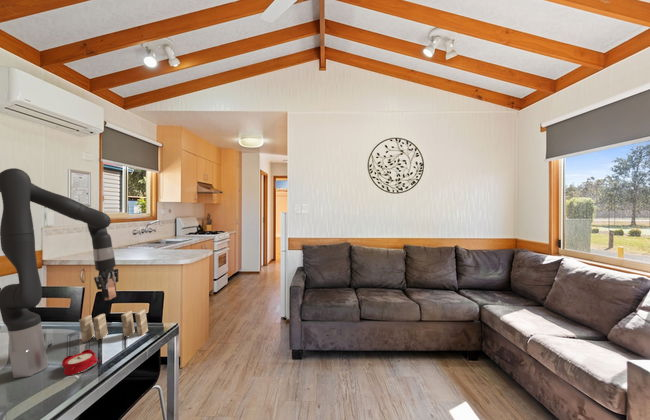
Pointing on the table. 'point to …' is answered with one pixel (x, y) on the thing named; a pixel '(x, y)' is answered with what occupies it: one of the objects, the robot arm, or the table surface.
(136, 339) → the table surface
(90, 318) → the domino
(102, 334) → the domino
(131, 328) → the domino
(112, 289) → the gap domino
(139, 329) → the domino
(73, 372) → the alarm clock
